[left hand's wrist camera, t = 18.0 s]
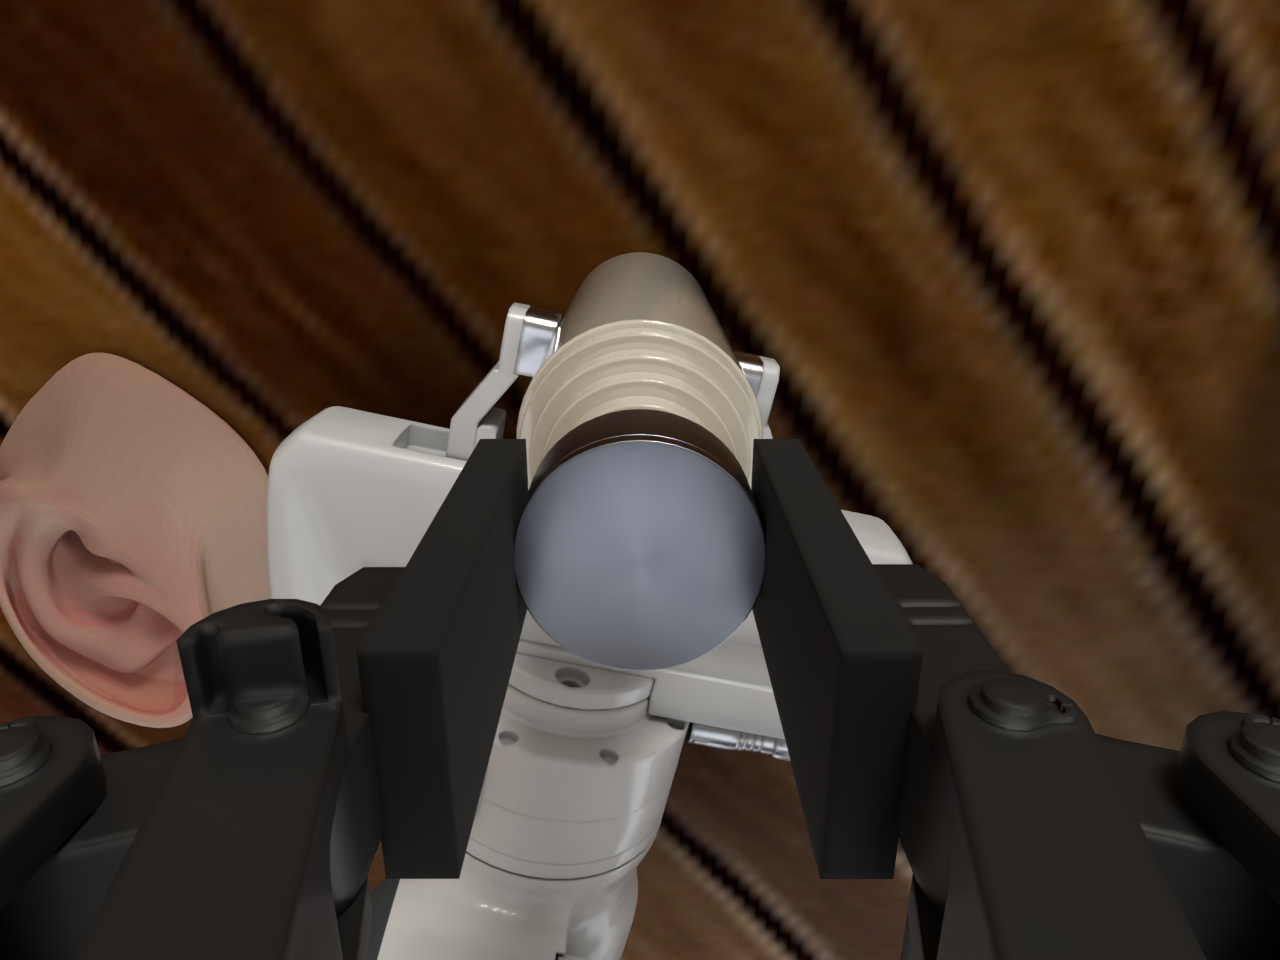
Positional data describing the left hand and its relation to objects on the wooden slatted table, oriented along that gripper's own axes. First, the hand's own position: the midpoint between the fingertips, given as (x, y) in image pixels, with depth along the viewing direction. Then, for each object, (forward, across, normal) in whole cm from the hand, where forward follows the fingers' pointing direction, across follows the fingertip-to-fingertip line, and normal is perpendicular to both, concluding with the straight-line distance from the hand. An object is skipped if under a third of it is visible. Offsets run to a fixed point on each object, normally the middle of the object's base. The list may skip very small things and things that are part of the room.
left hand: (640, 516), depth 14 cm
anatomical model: (+18, +20, +8) cm, 28 cm away
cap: (-1, 0, 0) cm, 1 cm away
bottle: (+18, 0, 0) cm, 18 cm away
